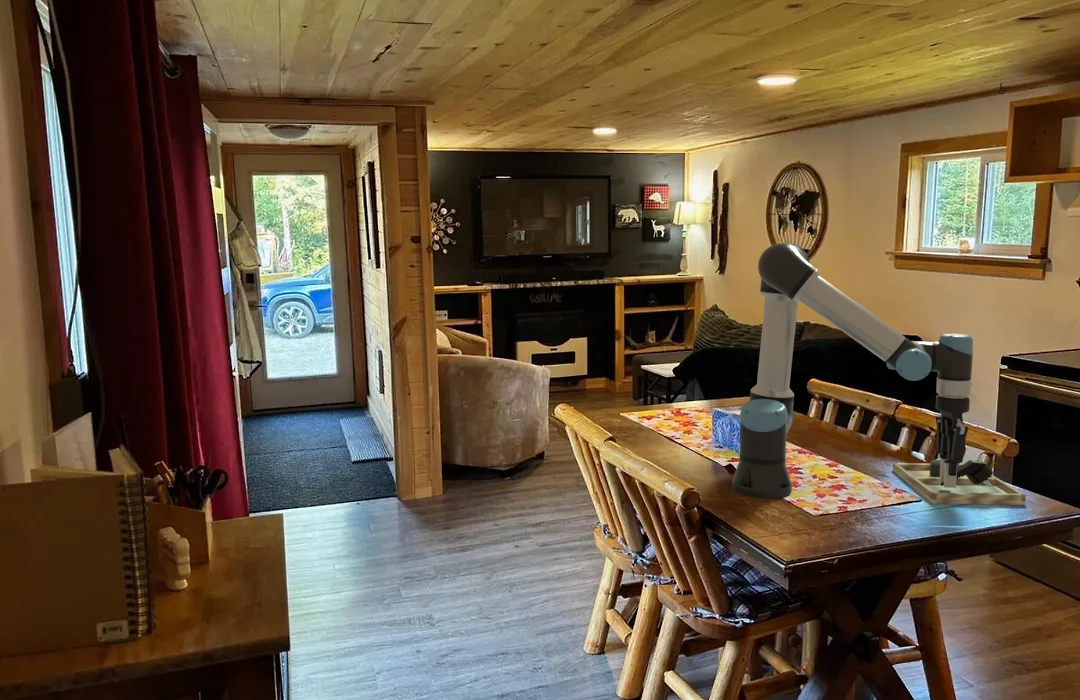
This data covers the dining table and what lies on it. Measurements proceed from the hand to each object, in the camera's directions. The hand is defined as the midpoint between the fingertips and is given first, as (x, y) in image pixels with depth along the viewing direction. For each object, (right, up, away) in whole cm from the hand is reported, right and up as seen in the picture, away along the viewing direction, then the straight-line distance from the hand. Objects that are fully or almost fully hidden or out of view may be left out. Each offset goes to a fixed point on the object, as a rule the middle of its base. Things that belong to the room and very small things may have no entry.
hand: (947, 485), depth 198 cm
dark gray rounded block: (+6, 0, +13) cm, 14 cm away
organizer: (+5, -2, +6) cm, 8 cm away
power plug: (0, -2, 0) cm, 2 cm away
